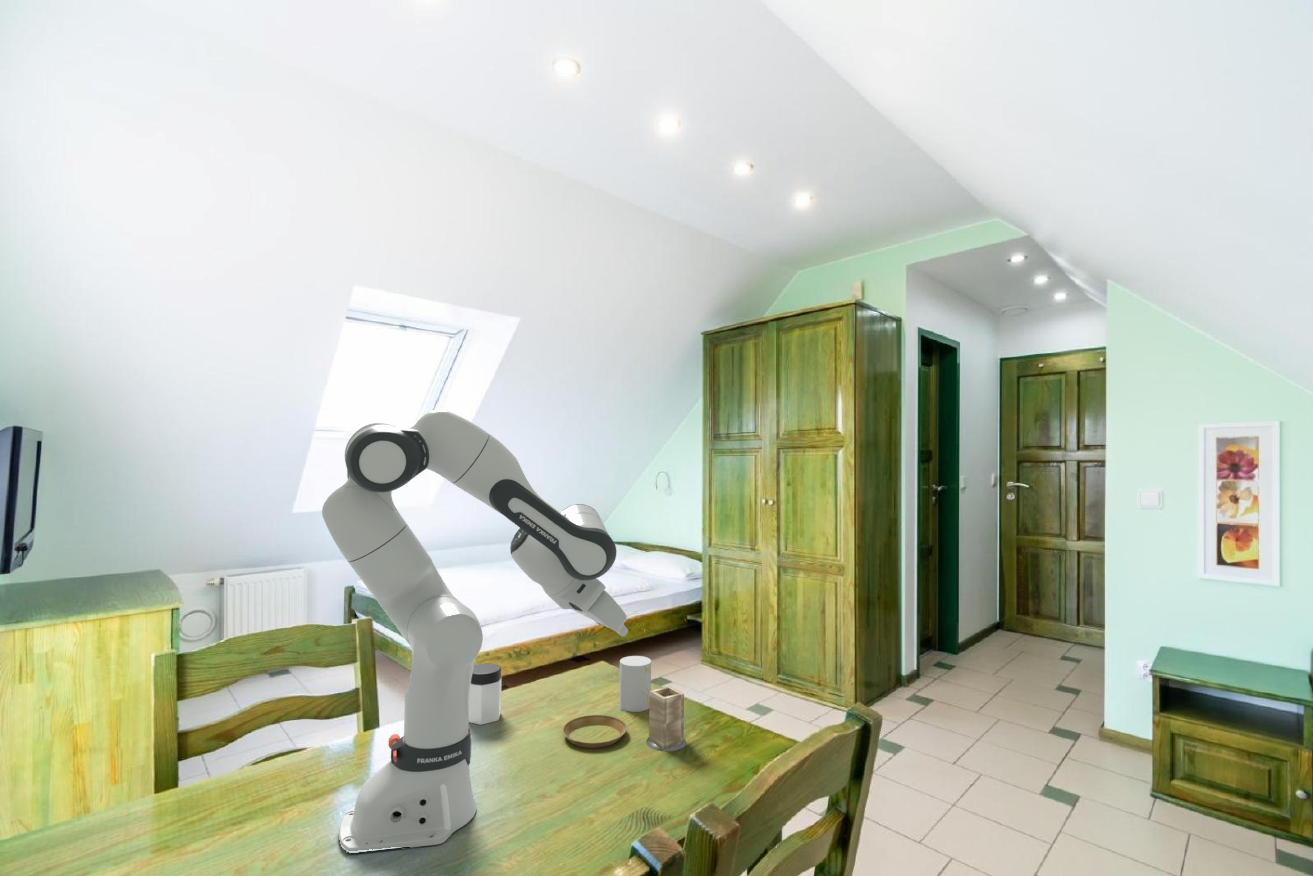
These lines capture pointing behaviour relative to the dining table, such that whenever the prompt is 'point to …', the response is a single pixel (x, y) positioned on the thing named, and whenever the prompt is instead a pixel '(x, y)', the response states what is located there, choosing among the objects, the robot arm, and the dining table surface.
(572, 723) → the plant saucer
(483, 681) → the jar
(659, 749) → the metal lid
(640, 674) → the white cylinder
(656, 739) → the vase
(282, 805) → the dining table surface
